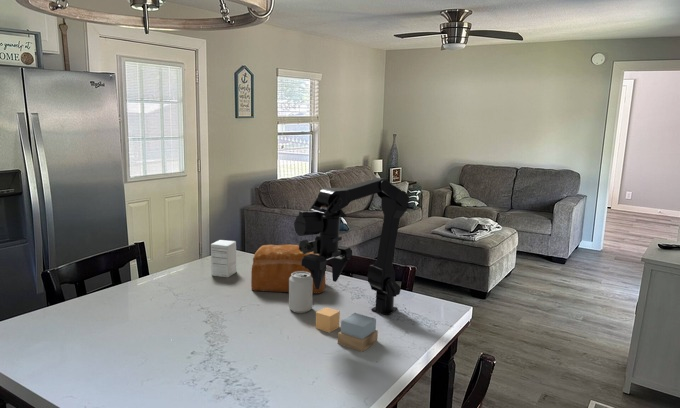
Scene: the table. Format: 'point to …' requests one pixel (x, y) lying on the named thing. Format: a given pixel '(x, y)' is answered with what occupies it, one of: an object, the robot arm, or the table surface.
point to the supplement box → (223, 258)
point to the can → (300, 291)
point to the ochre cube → (327, 319)
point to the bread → (278, 268)
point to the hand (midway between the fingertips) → (326, 285)
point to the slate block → (358, 325)
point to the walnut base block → (357, 341)
